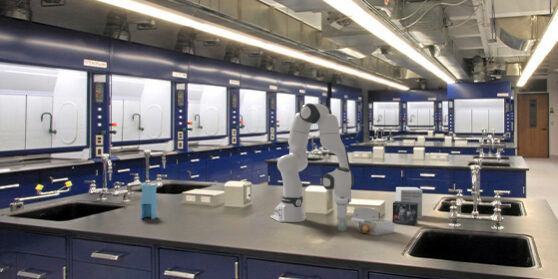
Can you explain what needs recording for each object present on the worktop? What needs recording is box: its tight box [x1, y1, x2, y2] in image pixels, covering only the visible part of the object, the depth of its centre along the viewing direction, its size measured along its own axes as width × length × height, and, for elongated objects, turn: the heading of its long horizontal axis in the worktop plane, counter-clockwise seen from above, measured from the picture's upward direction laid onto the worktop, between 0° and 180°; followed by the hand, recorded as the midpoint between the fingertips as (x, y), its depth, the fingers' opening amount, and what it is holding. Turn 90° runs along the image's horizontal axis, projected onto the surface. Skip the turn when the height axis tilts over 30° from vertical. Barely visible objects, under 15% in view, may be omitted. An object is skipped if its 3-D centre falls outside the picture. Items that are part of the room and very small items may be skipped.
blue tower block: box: [139, 183, 159, 220], centre depth 272 cm, size 8×8×20 cm
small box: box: [391, 200, 418, 226], centre depth 261 cm, size 13×7×12 cm, turn 62°
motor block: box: [358, 218, 395, 237], centre depth 239 cm, size 12×17×6 cm
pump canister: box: [337, 216, 348, 232], centre depth 243 cm, size 5×5×8 cm
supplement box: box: [395, 186, 423, 220], centre depth 280 cm, size 13×13×18 cm
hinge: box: [350, 206, 381, 224], centre depth 261 cm, size 17×5×10 cm, turn 56°
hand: (342, 224), depth 243 cm, fingers closed on pump canister, 5 cm apart
